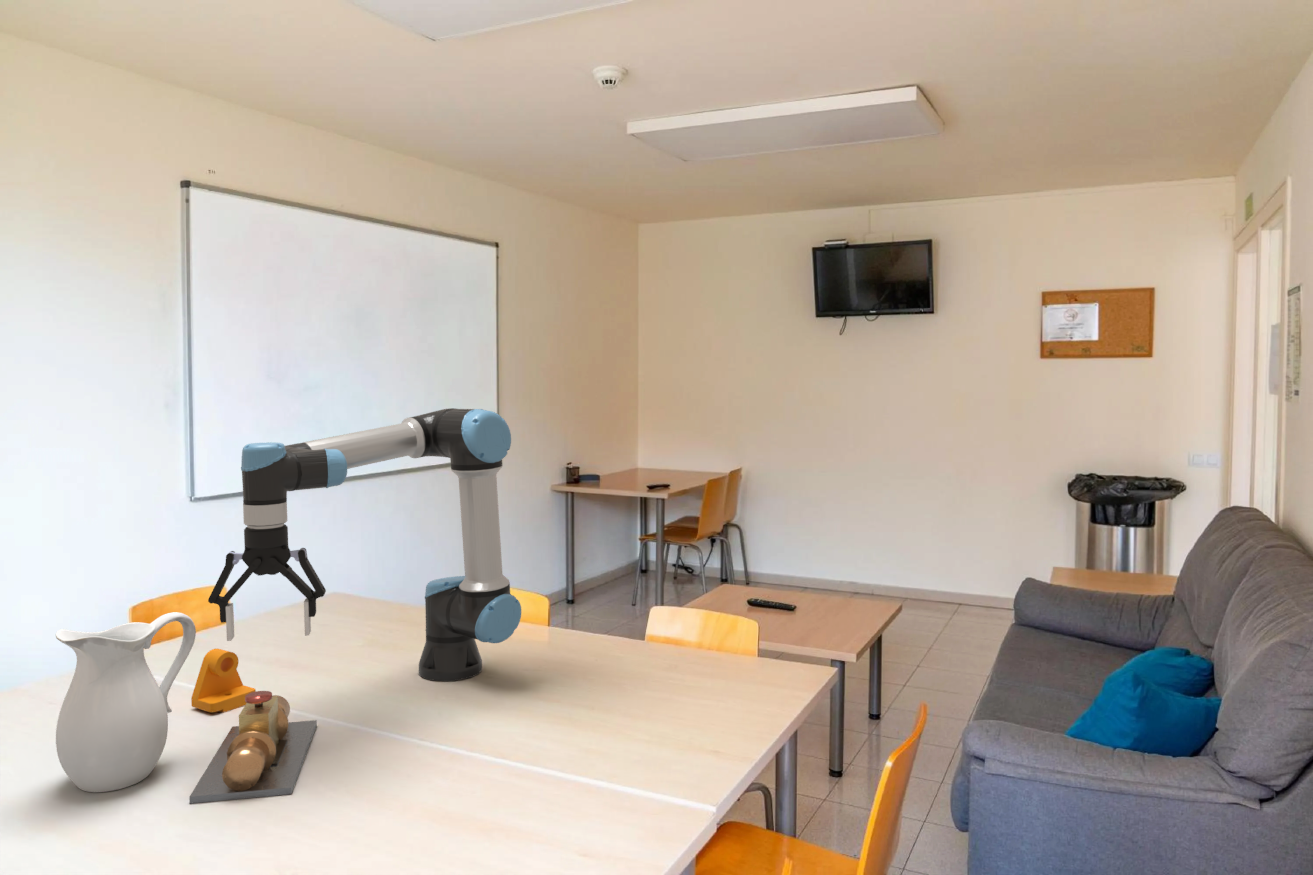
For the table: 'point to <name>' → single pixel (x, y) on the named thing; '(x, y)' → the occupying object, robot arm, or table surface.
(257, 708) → the valve
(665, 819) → the table surface
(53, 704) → the table surface
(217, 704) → the bracket
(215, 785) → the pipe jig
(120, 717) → the pitcher
